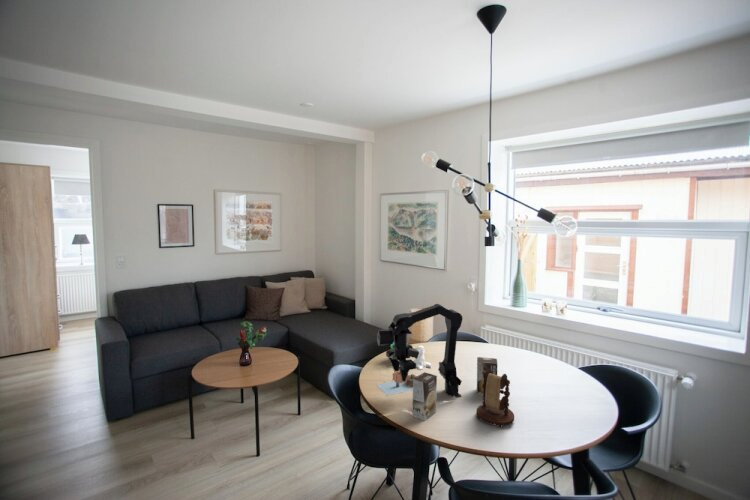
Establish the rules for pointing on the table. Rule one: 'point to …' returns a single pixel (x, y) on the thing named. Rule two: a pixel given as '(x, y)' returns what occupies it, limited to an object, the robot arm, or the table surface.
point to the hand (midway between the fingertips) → (400, 377)
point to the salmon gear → (398, 377)
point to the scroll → (495, 400)
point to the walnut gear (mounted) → (410, 380)
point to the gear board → (394, 388)
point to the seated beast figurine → (421, 359)
